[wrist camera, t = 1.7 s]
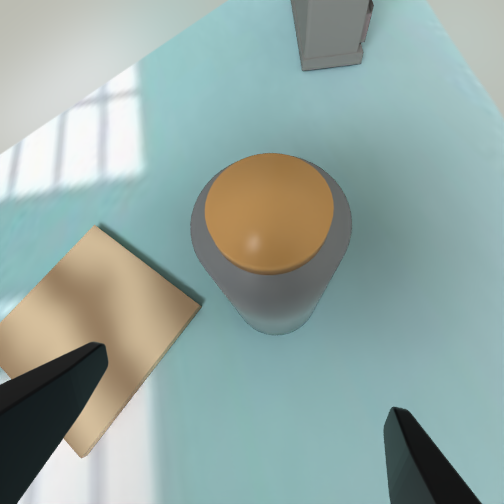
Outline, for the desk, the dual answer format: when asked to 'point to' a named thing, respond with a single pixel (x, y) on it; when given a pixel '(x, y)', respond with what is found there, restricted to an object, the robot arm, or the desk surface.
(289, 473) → the desk surface
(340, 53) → the tall grey pillar
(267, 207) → the canister
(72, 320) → the mat
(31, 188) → the desk surface
